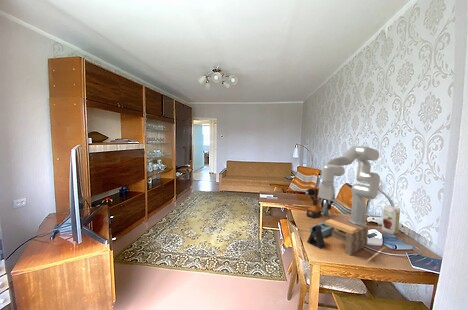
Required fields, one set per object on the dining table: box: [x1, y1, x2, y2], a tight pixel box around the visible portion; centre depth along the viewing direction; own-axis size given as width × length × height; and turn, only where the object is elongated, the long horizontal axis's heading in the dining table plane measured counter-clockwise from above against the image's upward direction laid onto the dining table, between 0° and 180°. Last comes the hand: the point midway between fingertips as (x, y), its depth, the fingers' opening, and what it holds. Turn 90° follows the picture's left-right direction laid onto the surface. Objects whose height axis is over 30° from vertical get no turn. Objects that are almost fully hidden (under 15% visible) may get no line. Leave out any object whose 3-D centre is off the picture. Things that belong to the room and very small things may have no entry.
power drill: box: [304, 186, 322, 219], centre depth 170 cm, size 22×7×25 cm, turn 129°
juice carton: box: [381, 204, 401, 235], centre depth 143 cm, size 8×9×19 cm
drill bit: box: [321, 199, 330, 218], centre depth 140 cm, size 4×4×12 cm
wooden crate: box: [331, 224, 369, 256], centre depth 125 cm, size 23×18×13 cm
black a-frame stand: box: [306, 224, 326, 249], centre depth 125 cm, size 9×6×12 cm, turn 37°
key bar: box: [324, 218, 357, 234], centre depth 119 cm, size 6×16×2 cm, turn 35°
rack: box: [309, 221, 336, 238], centre depth 139 cm, size 16×9×5 cm, turn 125°
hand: (326, 207), depth 140 cm, fingers closed on drill bit, 4 cm apart
